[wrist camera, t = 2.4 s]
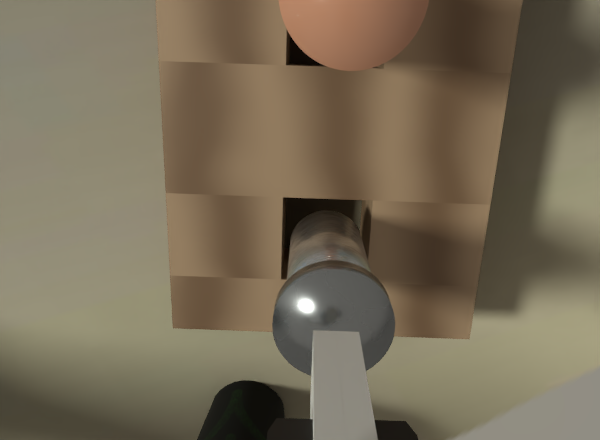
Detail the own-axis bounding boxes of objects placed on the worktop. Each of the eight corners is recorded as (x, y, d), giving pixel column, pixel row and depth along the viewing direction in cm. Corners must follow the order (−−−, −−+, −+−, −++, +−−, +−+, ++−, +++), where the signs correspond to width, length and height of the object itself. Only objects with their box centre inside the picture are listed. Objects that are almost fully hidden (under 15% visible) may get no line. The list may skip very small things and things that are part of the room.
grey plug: (282, 281, 29) (271, 377, 20) (284, 201, 28) (273, 268, 19) (365, 284, 29) (389, 381, 20) (372, 204, 27) (400, 272, 19)
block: (191, 291, 35) (172, 328, 31) (175, -102, 28) (148, -134, 23) (447, 300, 35) (469, 339, 31) (501, -91, 28) (541, -121, 23)
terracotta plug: (287, 63, 25) (276, 68, 17) (290, -44, 24) (279, -98, 15) (383, 66, 25) (421, 73, 17) (392, -40, 24) (438, -93, 15)
